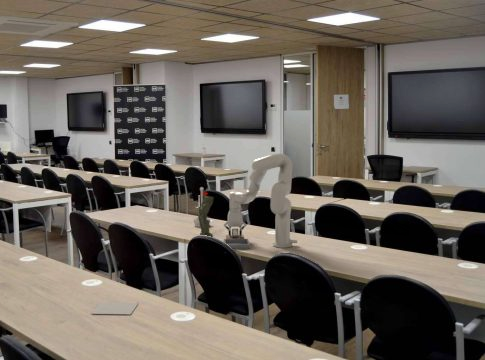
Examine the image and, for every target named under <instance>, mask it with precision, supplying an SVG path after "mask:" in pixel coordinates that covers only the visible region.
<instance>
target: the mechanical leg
mask: <svg viewBox="0 0 485 360" xmlns="http://www.w3.org/2000/svg"><path fill="white" fill-rule="evenodd" d="M213 204H214V197H213V196H210V195H205V196H203V201H202V205H201V204H200V205H199V207H198V214H197V218H199V223H200V227H199V228H200V230H201V231H200V233H199V235H207V236H212V237H213V235H214V234H213V233H211V231H210V223H209V220H207V218H208V214H209V211H210V208H211V207H212V205H213Z"/></svg>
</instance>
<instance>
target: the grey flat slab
mask: <svg viewBox="0 0 485 360" xmlns="http://www.w3.org/2000/svg"><path fill="white" fill-rule="evenodd" d="M138 304H139V302H114V301H113V302H111V301H110V302H107V301H106V302H105V301H103V302H100V303H99V305H97V306H96V308H95V309H94V310H93V311H92V312H91V315H131V314H132V313H133V312H134V310H135V309H136V308H137V306H138Z"/></svg>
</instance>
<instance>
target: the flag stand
mask: <svg viewBox="0 0 485 360" xmlns="http://www.w3.org/2000/svg"><path fill="white" fill-rule="evenodd" d="M204 189H205V188H204V187H202V186H201V187H200V188H199V191H200V205H202V201H203V198H204V196H208V194H209V193H208V192H206V191H204ZM207 220H209V224H210V223H211V218H210V217H207ZM193 223H194V227H196V226H197V228H200V223H199V218H198V217H195V218H193Z"/></svg>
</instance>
